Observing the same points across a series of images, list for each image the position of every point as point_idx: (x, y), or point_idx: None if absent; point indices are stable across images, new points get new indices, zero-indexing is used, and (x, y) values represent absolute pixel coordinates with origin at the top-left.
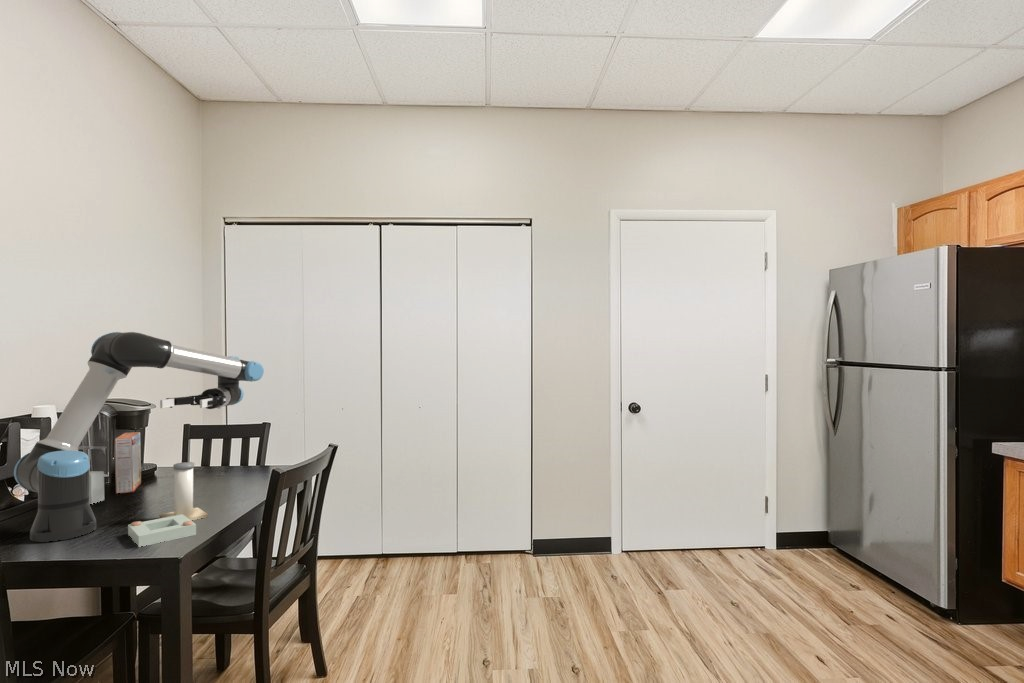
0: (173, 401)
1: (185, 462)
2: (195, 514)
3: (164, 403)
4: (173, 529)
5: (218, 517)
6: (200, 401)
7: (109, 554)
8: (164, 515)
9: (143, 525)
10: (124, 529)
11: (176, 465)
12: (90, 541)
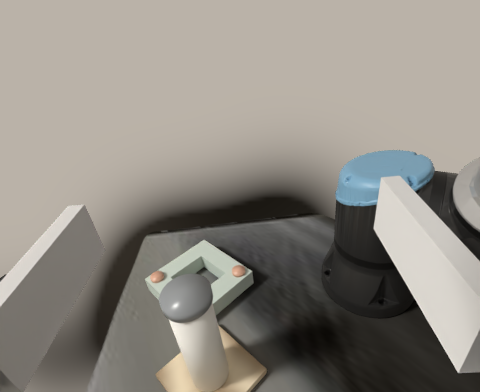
0: (467, 323)
1: (190, 310)
2: (182, 371)
3: (388, 216)
4: (171, 262)
5: (134, 379)
6: (84, 213)
7: (227, 234)
8: (249, 362)
9: (224, 270)
10: (281, 304)
11: (197, 278)
12: (288, 260)
